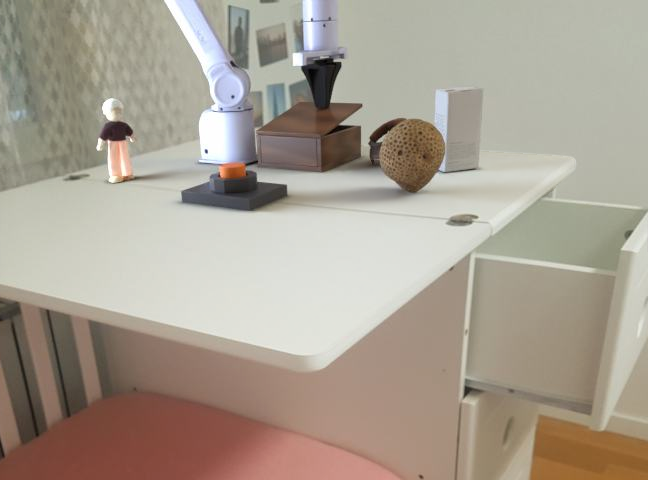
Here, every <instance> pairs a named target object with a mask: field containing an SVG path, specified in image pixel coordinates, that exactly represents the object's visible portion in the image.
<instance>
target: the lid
mask: <svg viewBox="0 0 648 480" xmlns="http://www.w3.org/2000/svg"><path fill="white" fill-rule="evenodd" d="M363 107H364V106H363V103H358V102H357V103H356V102H355V103H354V102H330V106H329V107H327V108H316V107H315V104H314V101H299V102H297V103H296V104H294V105H292V106H291V107H290V108H289V109H286V111H284V112H282V113H281V114H279V115H278V116H276V117H275V118H273V119H272V120H270V121H269V122H267V123H265V124H264V125H263V126H261V127H260V128H258V129H257V130H255V135H258V134H260V135H277V136H294V137H312V138H322V137H323V136H324V135H326V134H327V133H328V132H330V131H331V130H332V129H334V128H335V127H336V126H338V125H341V124H342V123H343V122H345V121H346V120H347V119H349V118H350V117H351V116H353V115H354V114H355V113H357V112H358V111H359V110H360V109H362V108H363Z"/></svg>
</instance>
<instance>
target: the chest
mask: <svg viewBox="0 0 648 480" xmlns="http://www.w3.org/2000/svg"><path fill="white" fill-rule="evenodd" d="M255 140H256V154H257V155H258V160H257V167H258V168H259V167H260V168H269V169H280V170H290V171H303V172H315V173H323V172H326V171H329V170H331V169H334V168H337V167H339V166H341V165H345V164H346V163H349V162H353V161H354V160H357V159H359V158H362V125H356V124H355V125H354V124H353V125H352V124H339V125H338V126H336V127H335V128H334V129H332V130H331V131H330V132H328V133H327V134H326V135H324V136H323V137H322V138H312V137H294V136H277V135H260V134H255Z"/></svg>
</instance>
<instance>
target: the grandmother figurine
mask: <svg viewBox="0 0 648 480" xmlns="http://www.w3.org/2000/svg"><path fill="white" fill-rule="evenodd" d="M124 109H125V107H124V104H123V102H122V101H121V100H119V99H117V98H113V97H112V98H111V97H110V98H109V99H107V100H105V102H104V103H103V105H102V111H103V114H104V115H105V116H106V119H107V120H108V122H106V123H104V124H103V127H102V129H101V131H100V134H99V136H98V142H97V145H96V150H97V151H98V152H102V151H103V150H104V146H105V144H106V141H107V145H108V149H107V164H108V175H109V176H110V177H109V178H108V182H110V183H112V184H115V183H121V182H124V180H125V181H127V180H133V179H135V175H133V174H134V172H133V171H134V170H133V167H132V161H131V157H130V153H129V149H128V142H127V137H128V138H129V140H130V142H131V143H132V144H134V143H136V142H137V140H138V139H137V137H136V136H135V133H134V129H133V128H132V127H131V126H130V125H129V123H127V122H124V121H122V119H123V113H124Z"/></svg>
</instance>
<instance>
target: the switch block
mask: <svg viewBox="0 0 648 480" xmlns="http://www.w3.org/2000/svg"><path fill="white" fill-rule="evenodd" d="M208 180H209V181H207V182H204V183H202V184H198V185H195V186H192V187H189V188H186V189H183V190H181V191H180V193H181V194H180V195H181V203H185V204H191V205H192V204H193V205H199V206H208V207H215V208H223V209H231V210H239V211H247V212H252V211H255V210H257V209H259V208H262V207H265V206H268V205H269V204H271V203H274V202H276V201H279V200H281V199H284V198H287V197H288V184H285V183H275V182H274V183H273V182H265V181H258V173H257V172H256V171H253V170H247V169H246V176H244V177H239V178H220V171H218V172H215V173H212V174H210V176H209V179H208Z"/></svg>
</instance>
